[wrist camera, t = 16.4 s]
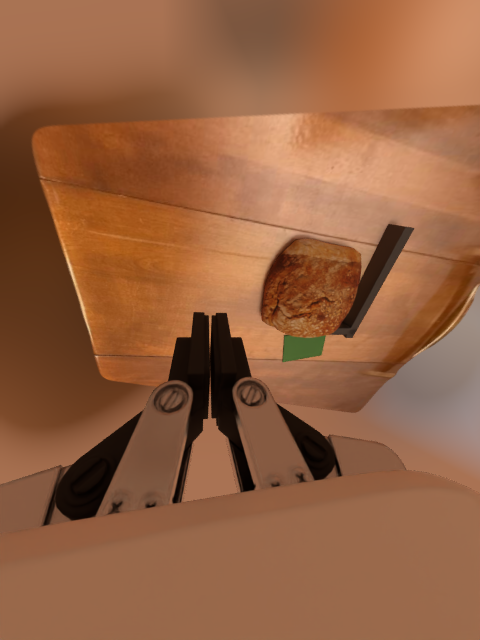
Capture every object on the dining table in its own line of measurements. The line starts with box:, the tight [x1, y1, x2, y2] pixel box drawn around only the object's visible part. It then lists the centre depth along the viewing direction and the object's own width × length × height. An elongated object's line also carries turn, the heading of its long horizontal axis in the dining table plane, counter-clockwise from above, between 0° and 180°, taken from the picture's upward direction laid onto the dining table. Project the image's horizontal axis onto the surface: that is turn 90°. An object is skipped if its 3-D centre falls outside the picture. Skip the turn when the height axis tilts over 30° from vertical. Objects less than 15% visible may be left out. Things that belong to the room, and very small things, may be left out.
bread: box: [261, 239, 361, 338], centre depth 38 cm, size 20×18×10 cm
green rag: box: [283, 335, 326, 362], centre depth 53 cm, size 10×12×1 cm
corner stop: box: [330, 224, 414, 338], centre depth 41 cm, size 26×18×4 cm
